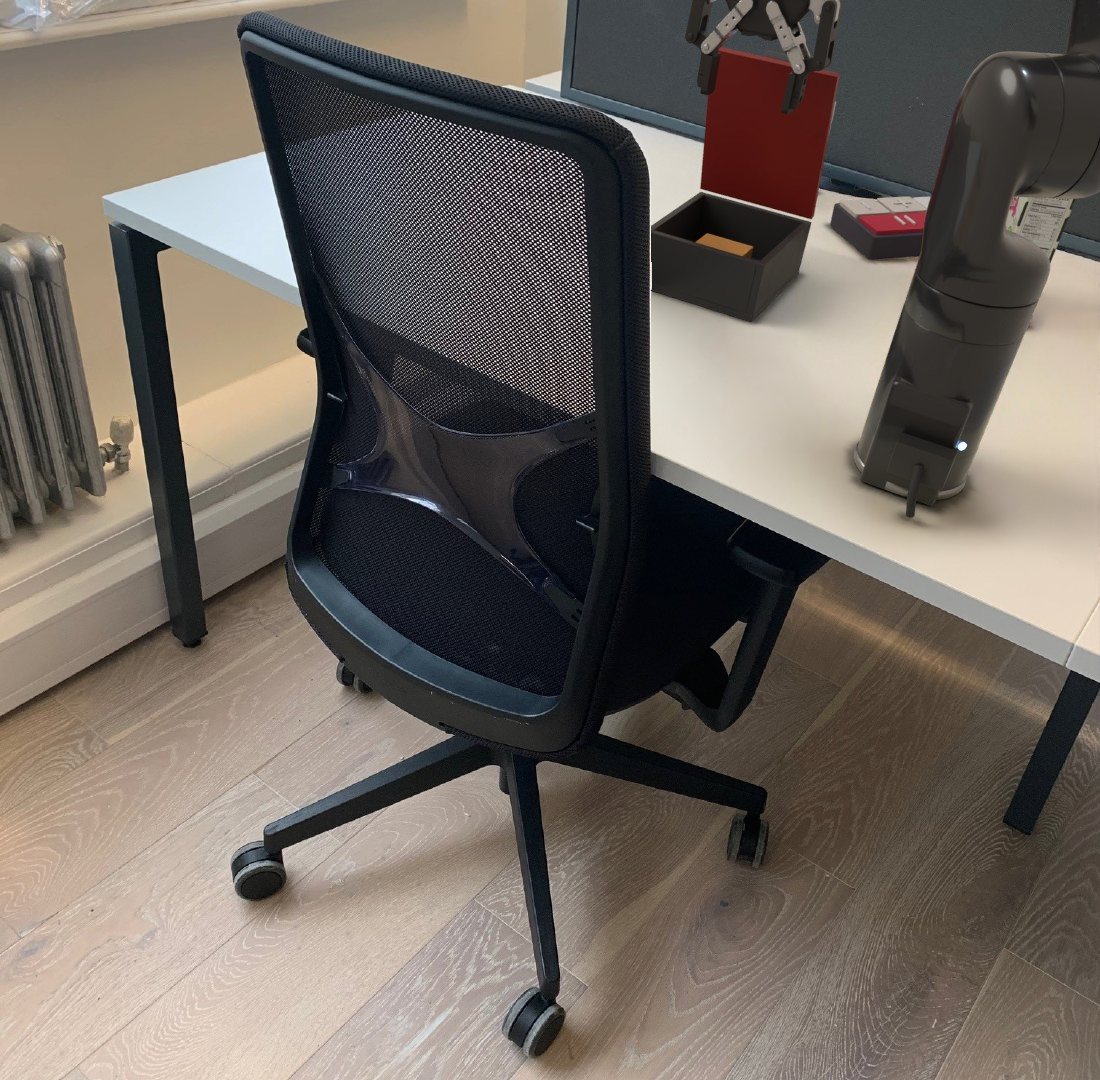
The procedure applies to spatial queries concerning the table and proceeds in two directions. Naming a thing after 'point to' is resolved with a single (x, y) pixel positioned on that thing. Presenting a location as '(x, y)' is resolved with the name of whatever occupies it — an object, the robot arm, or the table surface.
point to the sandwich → (726, 245)
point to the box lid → (766, 133)
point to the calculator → (882, 225)
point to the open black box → (726, 255)
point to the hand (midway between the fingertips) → (746, 103)
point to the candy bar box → (1040, 220)
